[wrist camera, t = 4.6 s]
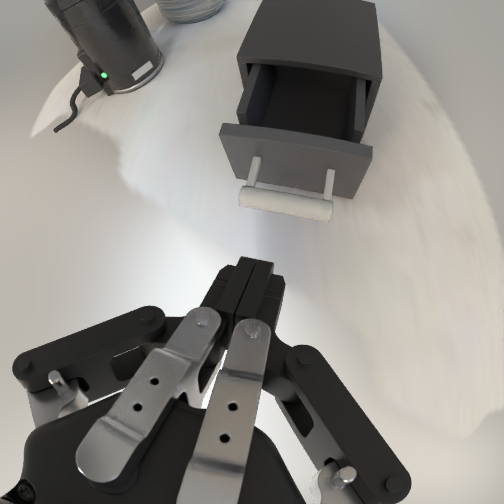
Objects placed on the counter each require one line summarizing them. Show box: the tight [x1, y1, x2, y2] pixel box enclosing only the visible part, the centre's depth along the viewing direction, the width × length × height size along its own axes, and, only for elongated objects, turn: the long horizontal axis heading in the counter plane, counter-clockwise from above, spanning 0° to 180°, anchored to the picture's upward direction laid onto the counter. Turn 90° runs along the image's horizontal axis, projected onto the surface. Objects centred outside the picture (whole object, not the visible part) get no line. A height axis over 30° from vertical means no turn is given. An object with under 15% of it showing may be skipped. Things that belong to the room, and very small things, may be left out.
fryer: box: [237, 0, 382, 134], centre depth 26 cm, size 15×13×10 cm
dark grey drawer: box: [219, 63, 373, 222], centre depth 25 cm, size 18×11×8 cm, turn 167°
